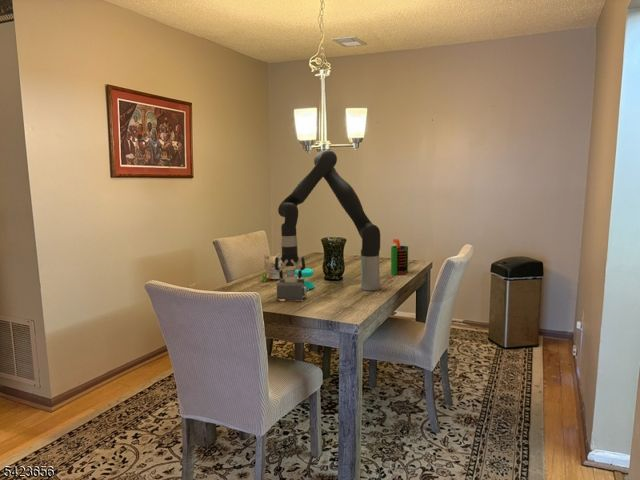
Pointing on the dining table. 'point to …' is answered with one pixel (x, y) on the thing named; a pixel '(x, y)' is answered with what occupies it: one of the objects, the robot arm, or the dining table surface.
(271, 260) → the kitten
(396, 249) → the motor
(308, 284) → the donuts
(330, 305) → the dining table surface
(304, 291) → the motor housing
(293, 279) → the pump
